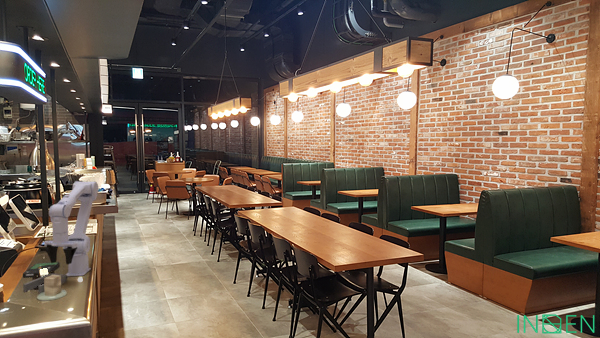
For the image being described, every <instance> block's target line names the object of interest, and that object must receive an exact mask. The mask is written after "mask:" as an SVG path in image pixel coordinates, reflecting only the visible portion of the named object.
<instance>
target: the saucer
mask: <svg viewBox="0 0 600 338" xmlns="http://www.w3.org/2000/svg"><path fill="white" fill-rule="evenodd" d="M67 294H68V293H67V290H66V289H61V293H59V294H57V295H55V296H47V295H45V292H43V293H38V294H37V296H36V299H37V300H38V301H43V302H45V301H46V302H47V301H48V302H49V301H55V300H58V299H61V298H64V297H65V296H66V295H67Z"/></svg>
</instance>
